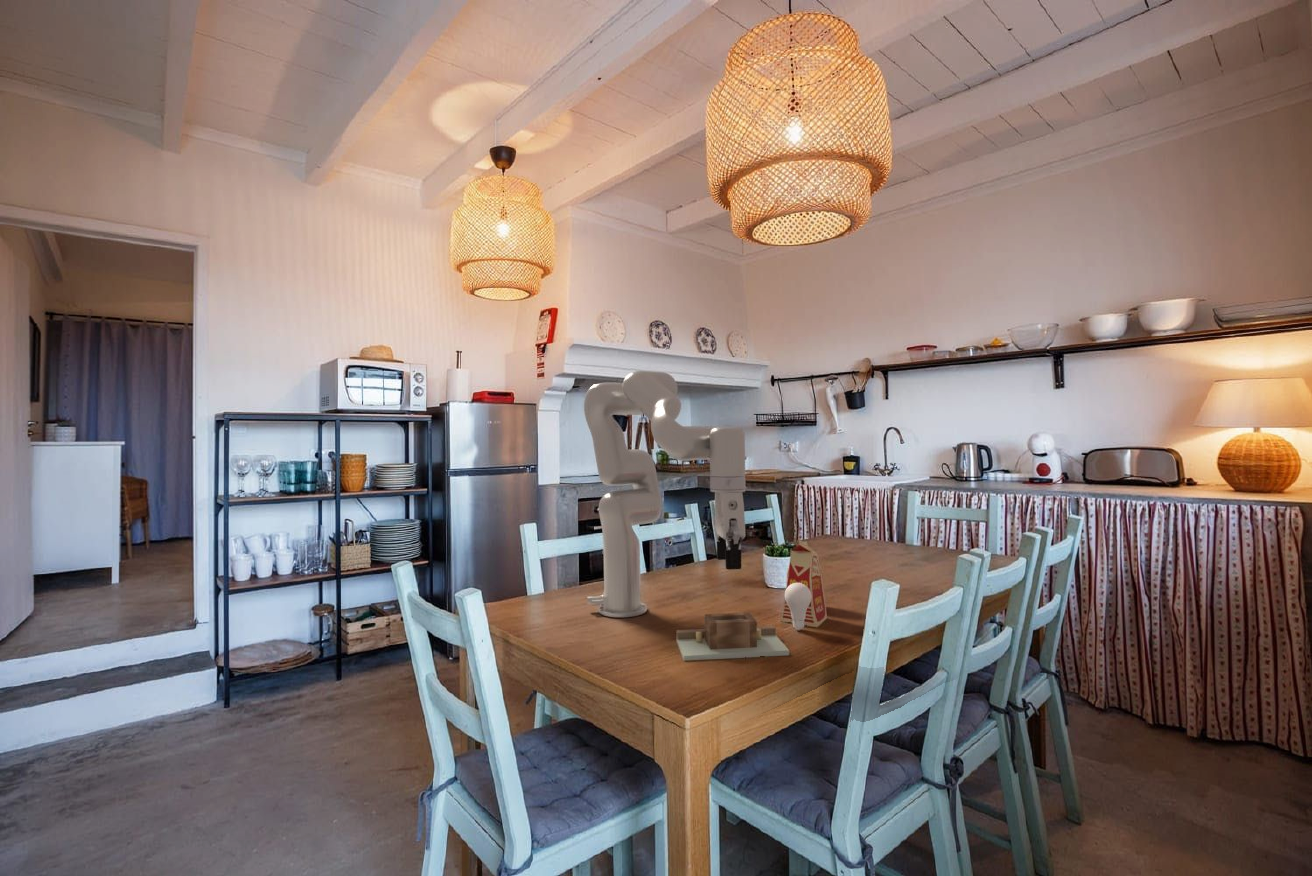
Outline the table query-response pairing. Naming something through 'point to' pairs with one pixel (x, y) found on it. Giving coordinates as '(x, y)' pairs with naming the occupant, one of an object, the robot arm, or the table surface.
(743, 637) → the wooden box
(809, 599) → the lightbulb
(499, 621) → the table surface
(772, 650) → the board
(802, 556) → the milk carton
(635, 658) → the table surface
